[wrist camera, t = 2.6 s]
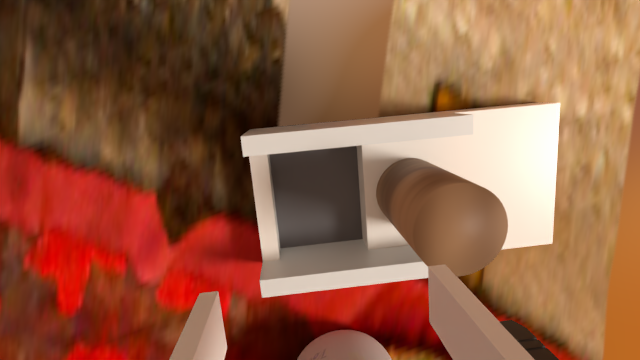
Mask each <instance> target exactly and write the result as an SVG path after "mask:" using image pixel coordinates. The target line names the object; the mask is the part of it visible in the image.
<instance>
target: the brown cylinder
mask: <svg viewBox="0 0 640 360" xmlns="http://www.w3.org/2000/svg"><path fill="white" fill-rule="evenodd" d="M376 198H377V202H378V205H379V208H380V209H381V211H382V212H383V214H384V215H385V216H386V217H387V218H388V220H389V221H390V222H391V223H392V224H393V226H394V227H395V228H396V229H397V231H398V232H399V233H400V234H401V235H402V237H403V238H404V239H405V240H406V242H407V243H408V244H409V245H410V246H411V248H412V249H413V250H414V251H415V252H416V254H417V255H418V256H419V257H420V259H421V260H422V261H423V262H424V263H425V264H426V265H427V266H436V265H444V264H445V265H446V266H447V267H448V268H449V269H450V270H451V271H452V272H453V273H454V274H455V275H456V276H463V275H468V274H471V273H474V272H476V271H479V270H480V269H482V268H484V267H485V266H487V265H488V264H489V263H490V262H491V261H492V260H494V258H495V257H496V256H497V255H498V253H499V252H500V250H501V249H502V247H503V245H504V243H505V240H506V236H507V232H508V218H507V214H506V211H505V208H504V206H503V204H502V202H501V201H500V200H499V198H498V197H497V196H496V195H495V194H493V193H492V192H491V191H489V190H488V189H486V188H484V187H482V186H479V185H477V184H475V183H473V182H471V181H468V180H466V179H464V178H462V177H460V176H457V175H455V174H453V173H451V172H449V171H446V170H444V169H442V168H440V167H438V166H436V165H433V164H431V163H429V162H427V161H424V160H422V159H418V158H406V159H402V160H399V161H397V162H395V163H393V164H392V165H390V166H389V167H388V168H387V169H386V170H385V171H384V172H383V174H382V175H381V177H380V179H379V181H378V184H377V189H376Z"/></svg>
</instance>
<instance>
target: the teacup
mask: <svg viewBox="0 0 640 360" xmlns="http://www.w3.org/2000/svg"><path fill="white" fill-rule="evenodd" d="M297 360H392V359H391V357H390V356H389V354H388V353H387V351H386V350H385V349H384V348H383V346H382V345H381V344H380V343H379V342H378V341H376V340H375V339H374V338H372V337H371V336H369V335H367V334H365V333H362V332H359V331H354V330H336V331H332V332H328V333H326V334H324V335H321V336H319V337H318V338H316V339H315V340H313V341H312V342H311V343H310V344H308V345H307V346H306V347H305V349H304V350H303V351H302V352H301V354H300V355H299V357H298V359H297Z"/></svg>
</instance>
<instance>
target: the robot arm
mask: <svg viewBox="0 0 640 360" xmlns="http://www.w3.org/2000/svg"><path fill="white" fill-rule="evenodd" d="M428 278H429V322H430V324H431V325H432V327H433V328H434V330H435V331H436V333H437V335H438V336H439V338H440V339H441V341H442V343H443V344H444V346H445V347H446V349H447V351H448V352H449V354H450V355H451V357H452V359H453V360H559V359H558V358H557V357H556V356H555V355H554V354H552V353H551V352H550V351H549V350H548V349H547V348H545V346H544V345H543V344H542V343H541V342H540V341H539V340H537V338H536V337H535V336H534V335H533V334H532V333H531V332H530V331H529V330H528V329H527V328H525V327H523V326H522V325H520V324H518V323H516V322H514V321H512V320H508V321H501V322H499V321H498V320H497V319H496V318H495V317H494V316H493V315H492V314H491V313H490V312H489V310H488V309H487V308H486V307H485V306H484V305H483V304H482V303H481V302H480V301H479V300H478V299H477V298H476V297H475V296H474V295H473V293H472V292H471V291H470V290H469V289H468V288H467V287H466V286H465V285H464V284H463V283H462V282H461V281H460V280H459V279H458V277H457V276H456V275H455V274H454V273H453V272H452V271H451V270H450V269H449V268H448V267H447V266H446V265H445V264H444V265H436V266H428ZM226 351H227V343H226V337H225V331H224V325H223V318H222V312H221V306H220V300H219V294H218V291H215V292H207V293H200V294H199V296H198V298H197V301H196V303H195V305H194V307H193V309H192V312H191V314H190V316H189V318H188V320H187V322H186V325H185V327H184V329H183V331H182V333H181V335H180V338H179V340H178V342H177V344H176V346H175V349H174V351H173V353H172V355H171V357H170V359H169V360H224V359H225V355H226Z"/></svg>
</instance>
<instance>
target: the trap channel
mask: <svg viewBox="0 0 640 360" xmlns="http://www.w3.org/2000/svg"><path fill="white" fill-rule="evenodd" d="M559 117H560V103H527V104H516V105H505V106H495V107H484V108H473V109H463V110H452V111H441V112H430V113H420V114H409V115H398V116H387V117H377V118H367V119H356V120H345V121H334V122H323V123H312V124H302V125H292V126H280V127H269V128H259V129H250V130H248V131H247V132H246V133H244V134H243V135H242V136H240V137H241V144H242V152H243V157H247V156H249V160H250V167H251V175H252V183H253V190H254V198H255V206H256V213H257V221H258V229H259V236H260V244H261V252H262V259H263V264H262V270H261V276H260V286H261V294H262V298H263V297H272V296H280V295H288V294H297V293H305V292H313V291H321V290H330V289H338V288H346V287H355V286H363V285H371V284H379V283H388V282H396V281H404V280H413V279H421V278H428V266H427V265H426V264H425V263H424V262H423V261H422V260H421V259H420V257H419V256H418V255H417V254H416V252H415V251H414V250H413V249H412V248H411V246H410V245H409V244H408V243H407V242H406V240H405V239H404V238H403V237H402V235H401V234H400V233H399V232H398V231H397V229H396V228H395V227H394V226H393V224H392V223H391V222H390V221H389V220H388V218H387V217H386V216H385V215H384V214H383V212H382V211H381V209H380V208H379V205H378V202H377V198H376V189H377V184H378V181H379V179H380V177H381V175H382V174H383V172H384V171H385V170H386V169H387V168H388V167H389V166H390V165H392V164H393V163H395V162H397V161H399V160H402V159H406V158H418V159H422V160H424V161H427V162H429V163H431V164H433V165H436V166H438V167H440V168H442V169H444V170H446V171H449V172H451V173H453V174H455V175H457V176H460V177H462V178H464V179H466V180H468V181H471V182H473V183H475V184H477V185H479V186H482V187H484V188H486V189H488V190H489V191H491V192H492V193H493V194H495V195H496V196H497V197H498V198H499V200H500V201H501V202H502V204H503V206H504V208H505V211H506V214H507V218H508V232H507V236H506V240H505V243H504V245H503V247H502V249H509V248H518V247H527V246H535V245H544V244H552V241H553V223H554V206H555V188H556V170H557V152H558V135H559Z"/></svg>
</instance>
